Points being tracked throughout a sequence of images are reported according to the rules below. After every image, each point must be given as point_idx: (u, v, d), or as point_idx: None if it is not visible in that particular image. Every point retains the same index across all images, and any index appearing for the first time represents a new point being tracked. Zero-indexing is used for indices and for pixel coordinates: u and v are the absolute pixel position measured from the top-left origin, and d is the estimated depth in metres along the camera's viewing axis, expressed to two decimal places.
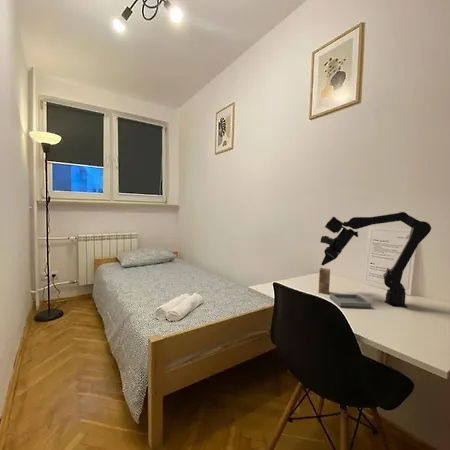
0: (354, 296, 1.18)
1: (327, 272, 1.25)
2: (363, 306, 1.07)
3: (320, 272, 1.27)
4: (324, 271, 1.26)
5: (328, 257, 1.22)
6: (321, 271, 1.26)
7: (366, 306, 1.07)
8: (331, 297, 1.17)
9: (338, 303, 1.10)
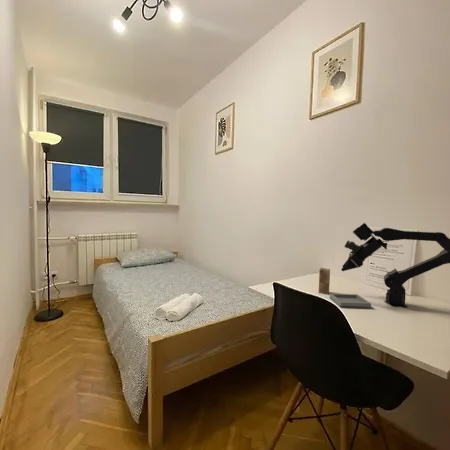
0: (354, 296, 1.18)
1: (327, 272, 1.25)
2: (363, 306, 1.07)
3: (320, 272, 1.27)
4: (324, 271, 1.26)
5: (350, 264, 1.17)
6: (321, 271, 1.26)
7: (366, 306, 1.07)
8: (331, 297, 1.17)
9: (338, 303, 1.10)
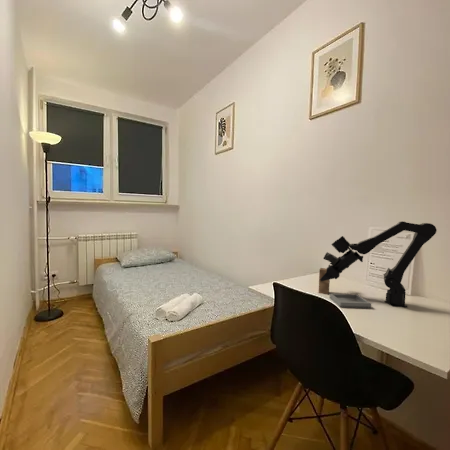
0: (354, 296, 1.18)
1: None
2: (363, 306, 1.07)
3: (320, 272, 1.27)
4: (324, 271, 1.26)
5: (329, 274, 1.23)
6: (321, 271, 1.26)
7: (366, 306, 1.07)
8: (331, 297, 1.17)
9: (338, 303, 1.10)
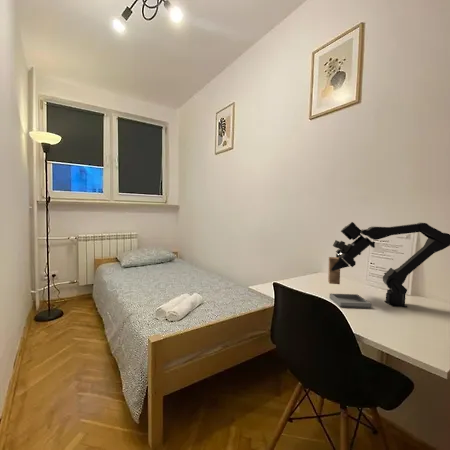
0: (354, 296, 1.18)
1: None
2: (363, 306, 1.07)
3: (331, 261, 1.19)
4: (335, 260, 1.18)
5: (341, 263, 1.16)
6: (332, 260, 1.19)
7: (366, 306, 1.07)
8: (331, 297, 1.17)
9: (338, 303, 1.10)
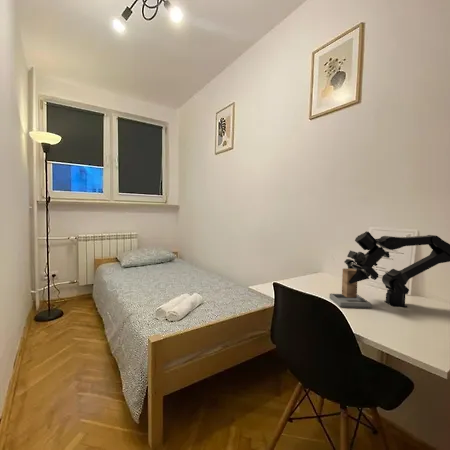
0: None
1: None
2: (363, 306, 1.07)
3: (348, 274, 1.11)
4: (352, 272, 1.11)
5: (359, 275, 1.10)
6: (349, 272, 1.11)
7: (366, 306, 1.07)
8: (331, 297, 1.17)
9: (338, 303, 1.10)
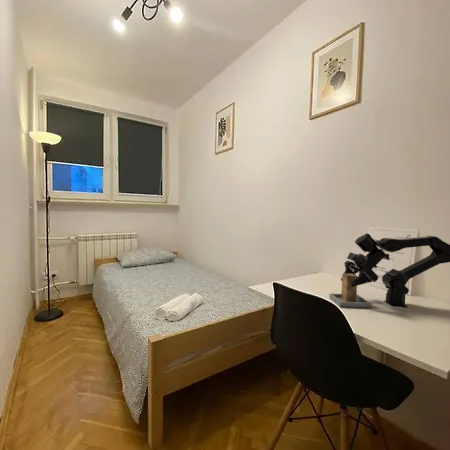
0: None
1: (355, 278, 1.11)
2: (363, 306, 1.07)
3: (348, 279, 1.11)
4: (352, 277, 1.11)
5: (362, 279, 1.08)
6: (349, 277, 1.11)
7: (366, 306, 1.07)
8: (331, 297, 1.17)
9: (338, 303, 1.10)
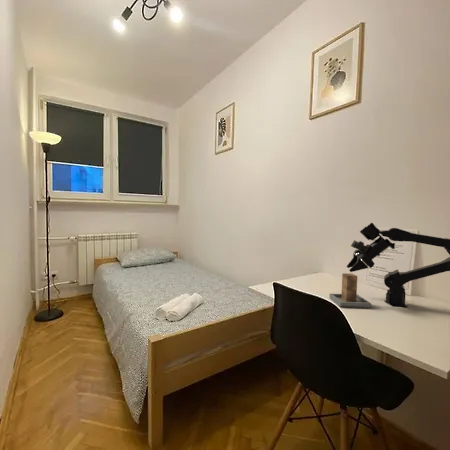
0: None
1: (355, 278, 1.11)
2: (363, 306, 1.07)
3: (348, 279, 1.11)
4: (352, 277, 1.11)
5: (360, 264, 1.14)
6: (349, 277, 1.11)
7: (366, 306, 1.07)
8: (331, 297, 1.17)
9: (338, 303, 1.10)
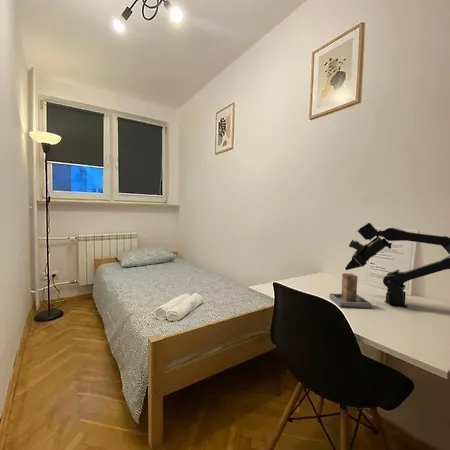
0: None
1: (355, 278, 1.11)
2: (363, 306, 1.07)
3: (348, 279, 1.11)
4: (352, 277, 1.11)
5: (354, 263, 1.18)
6: (349, 277, 1.11)
7: (366, 306, 1.07)
8: (331, 297, 1.17)
9: (338, 303, 1.10)
